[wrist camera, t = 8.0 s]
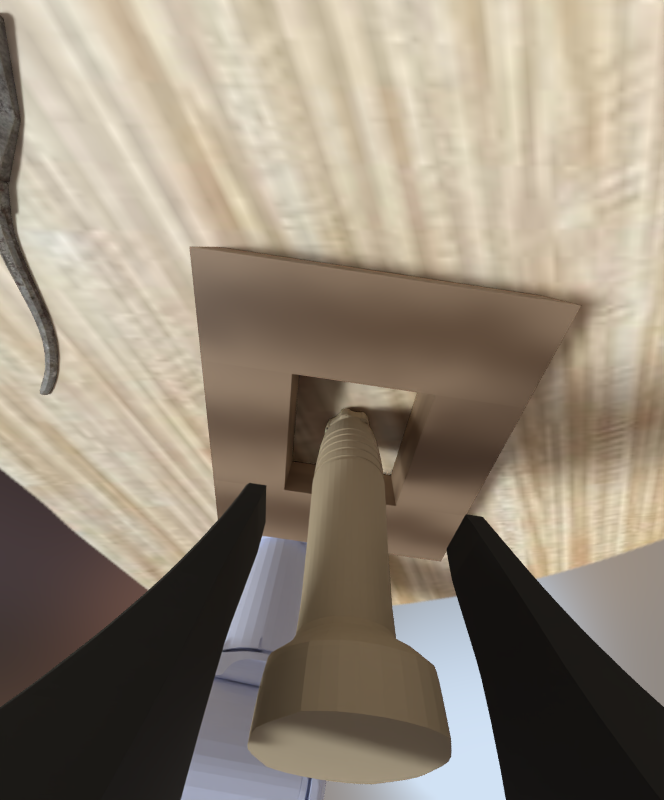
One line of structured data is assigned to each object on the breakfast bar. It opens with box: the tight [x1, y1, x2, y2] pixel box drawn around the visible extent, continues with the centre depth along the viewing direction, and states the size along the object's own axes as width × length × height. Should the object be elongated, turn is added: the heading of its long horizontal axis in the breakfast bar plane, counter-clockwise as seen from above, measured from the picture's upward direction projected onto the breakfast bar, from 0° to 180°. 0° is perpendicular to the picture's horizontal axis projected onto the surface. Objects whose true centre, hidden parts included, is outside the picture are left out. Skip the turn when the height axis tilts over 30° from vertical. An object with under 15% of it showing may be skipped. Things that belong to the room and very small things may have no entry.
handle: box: [247, 408, 451, 784], centre depth 14 cm, size 5×6×15 cm
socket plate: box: [190, 247, 581, 561], centre depth 19 cm, size 20×18×3 cm
